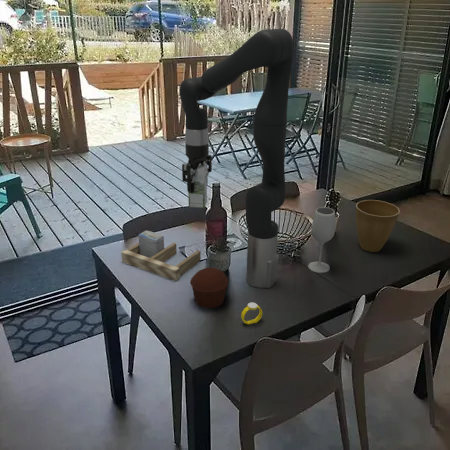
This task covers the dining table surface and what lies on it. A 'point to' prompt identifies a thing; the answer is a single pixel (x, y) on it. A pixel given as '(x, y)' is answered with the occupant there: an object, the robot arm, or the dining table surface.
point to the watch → (251, 307)
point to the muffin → (209, 287)
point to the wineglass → (322, 234)
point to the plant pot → (375, 223)
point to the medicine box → (150, 243)
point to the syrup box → (199, 188)
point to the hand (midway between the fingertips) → (197, 189)
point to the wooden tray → (160, 261)
